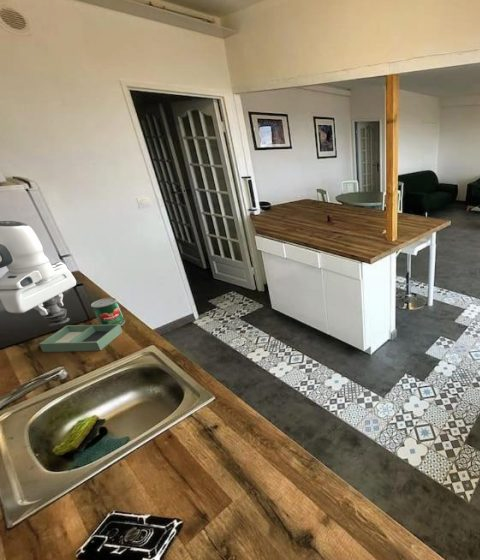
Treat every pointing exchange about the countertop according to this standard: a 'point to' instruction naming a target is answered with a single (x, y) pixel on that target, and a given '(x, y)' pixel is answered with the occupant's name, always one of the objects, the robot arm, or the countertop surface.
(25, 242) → the robot arm
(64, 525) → the countertop surface
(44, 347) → the tray
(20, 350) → the countertop surface
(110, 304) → the canned tomato
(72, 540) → the countertop surface
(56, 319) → the grey statuette
